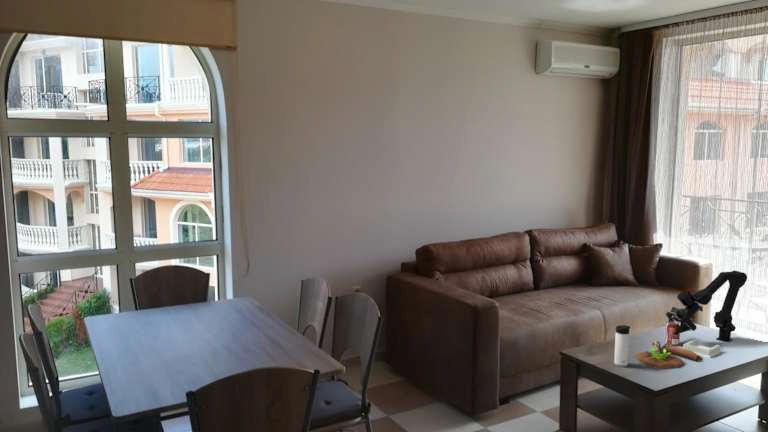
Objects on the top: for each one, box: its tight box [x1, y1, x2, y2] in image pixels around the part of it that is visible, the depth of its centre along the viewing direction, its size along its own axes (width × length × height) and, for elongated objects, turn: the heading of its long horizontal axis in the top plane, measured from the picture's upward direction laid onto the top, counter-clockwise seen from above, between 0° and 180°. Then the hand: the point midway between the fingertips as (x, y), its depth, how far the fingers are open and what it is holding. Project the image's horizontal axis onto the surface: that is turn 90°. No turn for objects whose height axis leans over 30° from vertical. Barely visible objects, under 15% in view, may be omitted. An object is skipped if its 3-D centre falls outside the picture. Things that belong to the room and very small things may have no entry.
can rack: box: [681, 338, 722, 359], centre depth 308 cm, size 13×14×4 cm
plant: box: [635, 340, 684, 370], centre depth 293 cm, size 20×20×11 cm
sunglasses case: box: [664, 345, 704, 362], centre depth 302 cm, size 18×7×7 cm
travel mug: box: [613, 324, 631, 368], centre depth 288 cm, size 6×7×20 cm
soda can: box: [665, 320, 681, 346], centre depth 319 cm, size 7×7×12 cm
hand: (670, 332), depth 318 cm, fingers closed on soda can, 6 cm apart
